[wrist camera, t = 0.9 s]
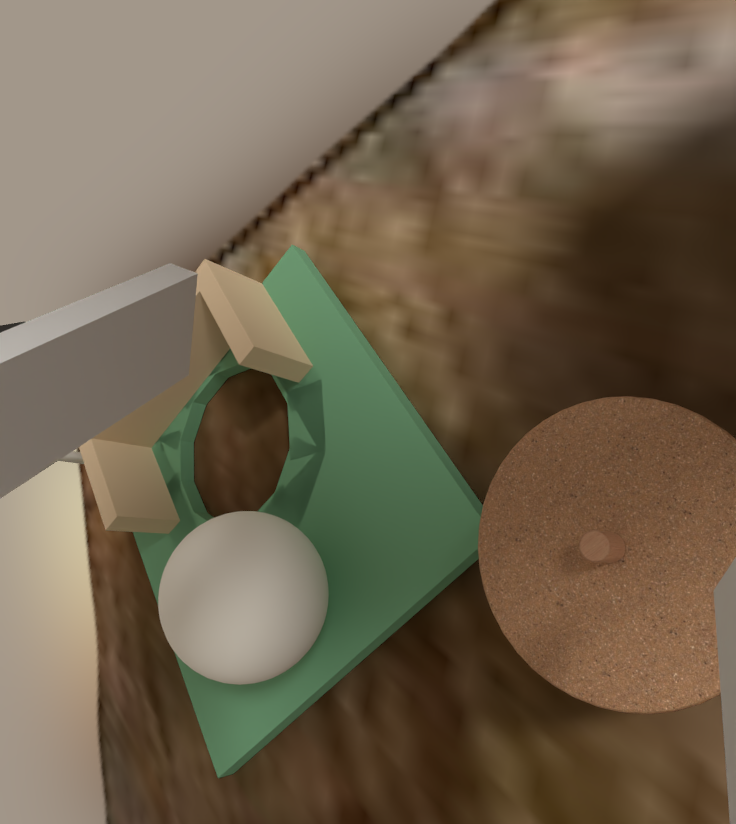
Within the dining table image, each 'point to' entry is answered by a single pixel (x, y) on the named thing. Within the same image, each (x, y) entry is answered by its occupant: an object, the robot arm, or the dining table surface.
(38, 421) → the robot arm
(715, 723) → the dining table surface
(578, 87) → the dining table surface
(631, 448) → the lidded jar
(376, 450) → the green
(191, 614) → the ball
